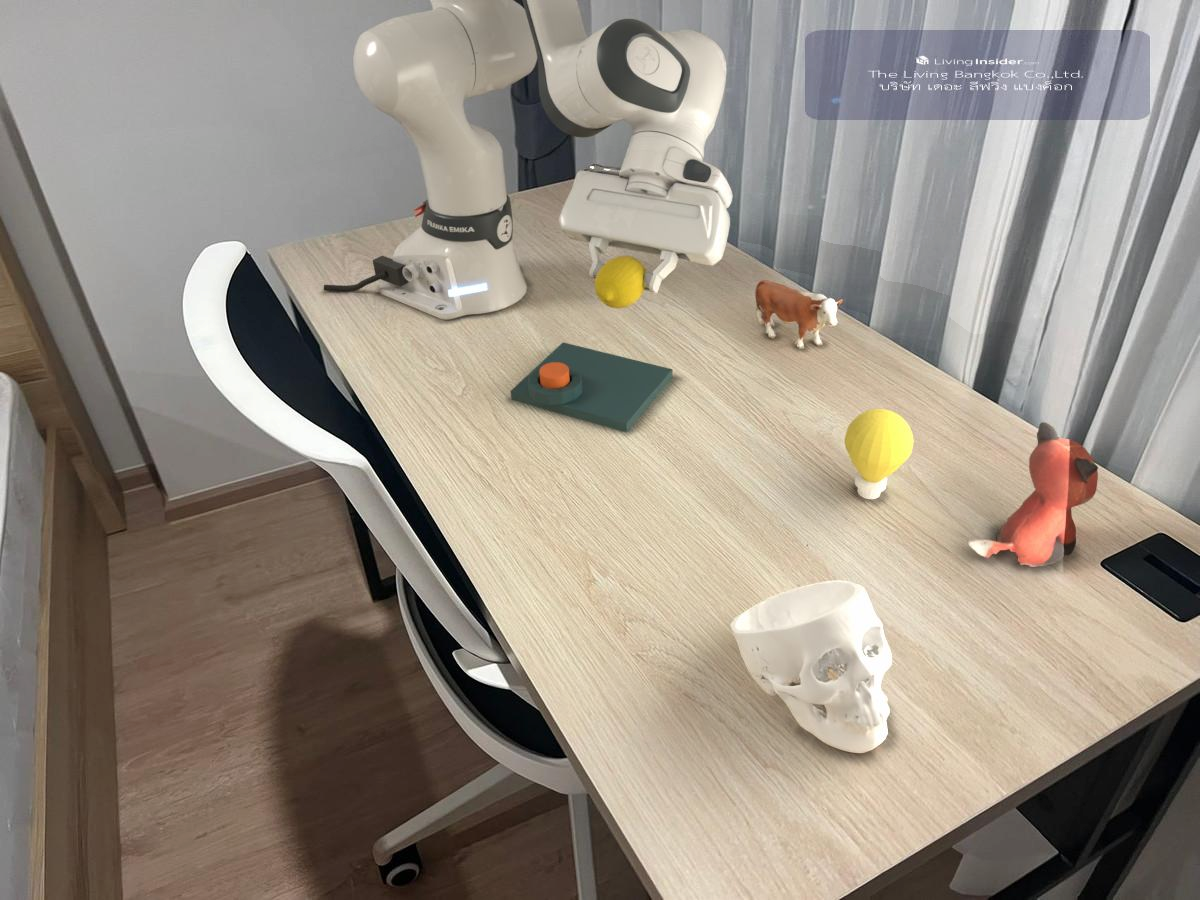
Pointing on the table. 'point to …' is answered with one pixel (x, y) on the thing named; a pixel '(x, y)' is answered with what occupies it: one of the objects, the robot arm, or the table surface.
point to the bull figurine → (795, 309)
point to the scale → (596, 387)
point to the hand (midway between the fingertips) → (622, 284)
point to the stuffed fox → (1047, 503)
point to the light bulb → (877, 448)
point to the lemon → (620, 282)
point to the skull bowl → (821, 660)
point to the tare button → (554, 375)
